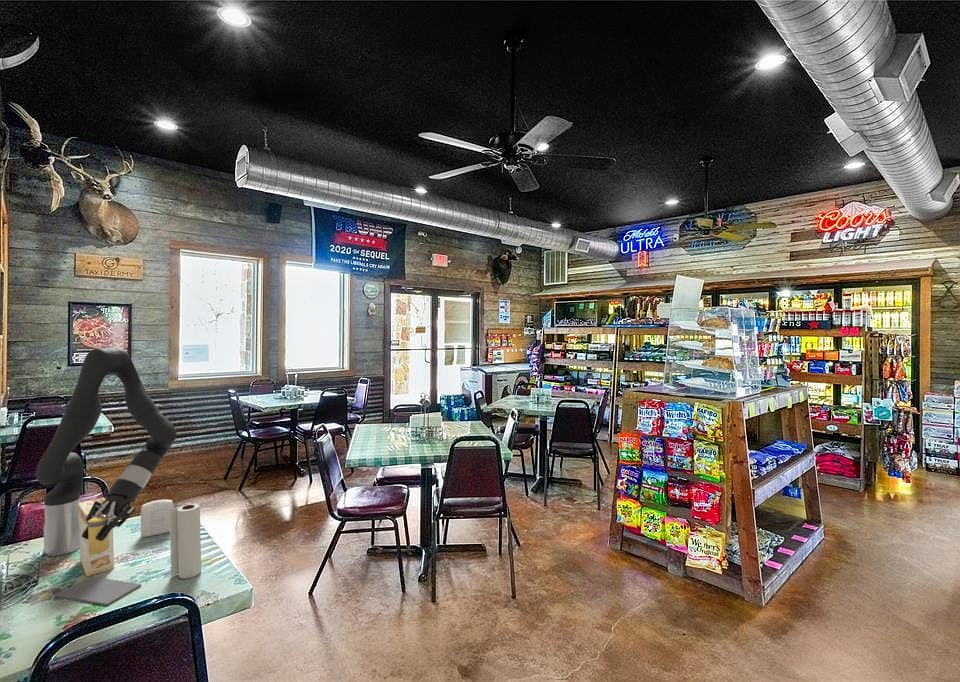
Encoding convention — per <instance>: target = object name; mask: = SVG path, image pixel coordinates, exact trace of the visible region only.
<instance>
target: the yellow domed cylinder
mask: <svg viewBox="0 0 960 682" xmlns="http://www.w3.org/2000/svg"><path fill="white" fill-rule="evenodd" d="M107 519H108V517H107V516H100V517H95V518H92V519H90V520H89V521H88V539H89V553H91V554H94V553H100V552H103V551H105V550H107V549H108V548H109V535H107V537H106V538H105V539H104V540H103V541H99V540H97V539H95V538H96V536H97V534H98V533H99V532H100V530H101V529H102V527H103V526H106V525H105V524H106V521H107Z"/></svg>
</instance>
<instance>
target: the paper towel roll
mask: <svg viewBox="0 0 960 682" xmlns="http://www.w3.org/2000/svg"><path fill="white" fill-rule="evenodd" d="M200 507H201V505H200V504H199V503H188V504H183V505H180V506H177V507H174V508H173V509H170V532H169V537H170V538H169V539H170V545H169V547H170V576H171V577H174V576H176V575H178V577H179V579H184V580H185V579H190V578H194V577H197V576H198V575H199V574H200V573H201V572H202V548H201V547H202V545H201V544H202V543H201V540H202V538H201V508H200Z"/></svg>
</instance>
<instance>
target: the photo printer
mask: <svg viewBox="0 0 960 682" xmlns="http://www.w3.org/2000/svg"><path fill="white" fill-rule="evenodd" d="M173 508H175V505H174V502H173V500H172V499H156V500H152V501H149V502H146V503H144V504H142V505H141V509H140V537H141V538H148V537H153V536H157V535H161V534H167V533H170V509H173Z"/></svg>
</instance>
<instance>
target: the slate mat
mask: <svg viewBox="0 0 960 682" xmlns="http://www.w3.org/2000/svg"><path fill="white" fill-rule="evenodd" d="M141 587H142V584H141V583H135V582H129V581H123V580H116V579H111V578H106V577H105V578H104V577H97V576H92V575H90V577H89V576H88V577H87V578H85V579H83V580H81V581H80V582H78V583H75V584H74V585H72V586H70V587H67V588H65V589H64V590H62V591H60V592H58V593H57V592H56V594H54V597H55V598H60V599H66V600H71V601H78V602H83V603H89V604H95V605H101V606H107V605H108V606H110V605H112V604H113V603H115V602H117V601H118V600H119V599H122V598H123V597H125V596H126V595H128V594H131V593H132V592H134V591H135V590H137V589H138V588H141ZM109 604H110V605H109ZM108 606H107V607H108Z"/></svg>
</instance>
